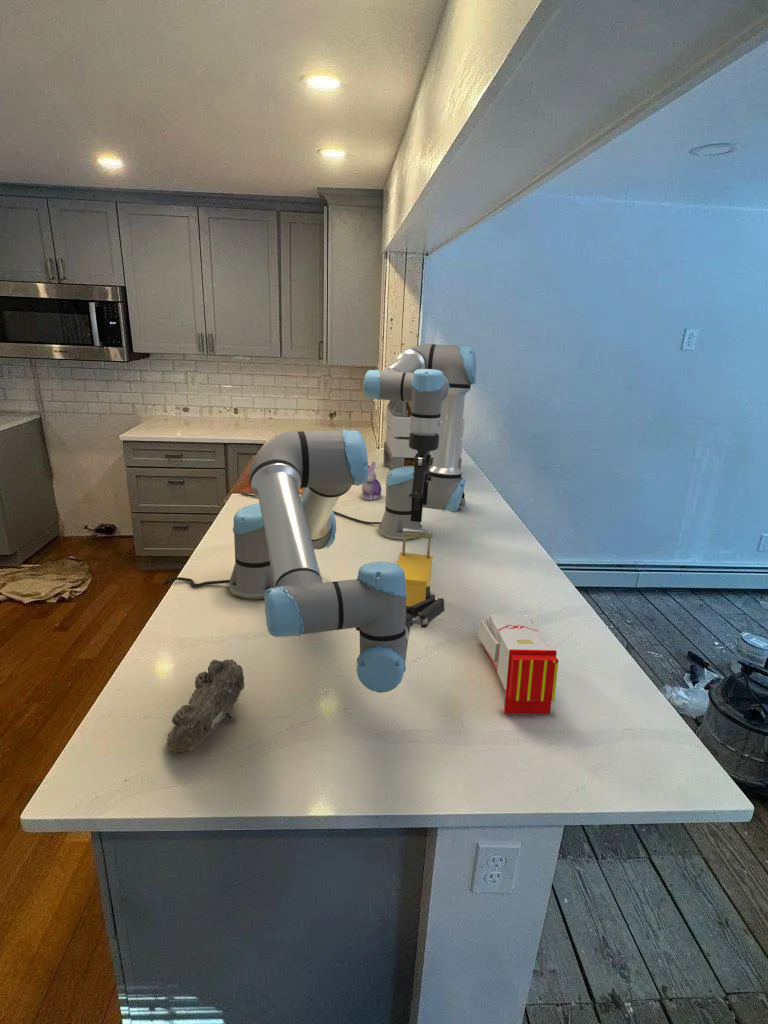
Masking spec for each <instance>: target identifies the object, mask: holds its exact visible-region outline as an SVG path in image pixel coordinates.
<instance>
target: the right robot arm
mask: <svg viewBox="0 0 768 1024" xmlns="http://www.w3.org/2000/svg"><path fill="white" fill-rule="evenodd" d="M476 383H477V358H476V351H475V349H474V348H473V347H471V346H467V345H461V344H459V345H456V344H438V343H437V344H436V343H435V344H434V343H423V344H418V345H415V346H412V347H409V348H407V349H405V350H403V351H402V352H400V353H399V354H398V356H397V357H396V359H395V361H394V362H392V363H391V364H389V365H388V366H387V367H385V368H384V369H383V370H379V369H369V370H367V371H366V373H365V375H364V378H363V392H364V396H365V397H366V398H368V399H373V400H377V401H379V400H384V401H390V400H395V401H407V402H411V415H410V428H409V430H410V431H411V433H410V434H409V447H410V448H411V449H414V450H417V451H418V453H417V454H416V456H415V457H414V463H415V464H414V466H404V467H401V468H396V469H393V470H391V471H390V470H389V472H388V473H387V475H386V482H385V504H384V505H385V507H384V508H385V509H384V513H383V515H382V519H381V522H380V521H365V520H361V519H358V518H355V517H352V516H349V515H345V514H344V513H341V512H338V511H335V510H333V512H334V515H339V516H340V517H343V518H346V519H349V520H351V521H354V522H358V523H362V524H367V525H378V533H379V534H380V535H381V536H382V537H385V538H387V539H389V540H395V541H403V535H402V533H403V528H411V529H420V530H423V525H422V524H421V523H422V521H423V519H422V518H423V509H430V510H431V509H432V510H440V511H443V512H445V511H447V512H455V511H457V510H459V509H458V507H459V505H460V502H461V498H462V495H463V491H464V490H465V485H466V478H465V477H463V476H462V475H463V472H462V469H461V470H460V469H459V468H458V461H459V451H460V441H461V440H462V438H461V431H462V421H463V419H464V408H465V400H466V395H467V393H469V392H470V391H471V386H472V385H476ZM430 451H434V453H433V464H432V465H430V461H431V455H430ZM240 495H244V496H248V497H253V498H256V497H255V496H254V494H253V493H245V492H240ZM415 539H418V537H409V536H406V541H410V540H415Z"/></svg>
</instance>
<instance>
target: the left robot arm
mask: <svg viewBox="0 0 768 1024" xmlns="http://www.w3.org/2000/svg"><path fill="white" fill-rule="evenodd" d="M368 459H369V458H368V451H367V445H366V440H365V438H364V436H363V434H362V433H361V432H360V431H359V430H354V429H353V430H351V429H346V428H344V429H337V430H301V431H300V430H299V431H298V430H290V431H285V432H281V433H279V434H276V435H275V436H273V437H272V438H270V439H268V441H266V442H264V444H263V445H262V446H261V447H260V449H258V451H257V453H256V455H255V456H254V458H253V460H252V463H251V466H250V470H249V483H250V489H251V493H252V495H254V496H255V497H254V498H256V499H258V503H253V504H250V505H246V506H244V507H242V508H240V509H239V510H237V511H236V512H235V513H234V515H233V527H232V532H233V539H234V566H233V570H232V572H231V575H230V579H222V580H221V579H220V580H209V581H203V582H199V583H195V581H194V579H192V578H188V577H181V576H176V577H171V578H169V579H167V580H166V581H164V582H163V585H165V586H166V585H168V584H170V583H172V582H174V581H175V582H176V581H184V582H189V583H190V584H191V586H192V587H195V588H198V587H199V588H200V587H204V586H208V585H220V584H222V585H223V584H229V592H230V593H231V594H232V595H233V596H235V597H236V598H240V599H244V600H248V601H249V600H250V601H251V600H252V601H255V600H256V601H258V600H264V613H265V622H266V628H267V632H268V633H269V634H270V635H271V637H274V638H283V637H284V638H285V637H286V638H287V637H301V636H304V635H310V634H319V633H323V632H324V633H325V632H331V631H339V630H347V629H355V631H356V632H357V631H358V632H359V655H358V657H357V659H356V675H357V678H358V679H359V682H360V684H362V686H363V687H364V688H366V689H368V690H369V691H371V692H374V693H380V694H381V693H388V692H391V691H393V690H395V689H396V688H397V687H398V686H399V685H400V684H401V682H402V680H403V678H404V674H405V673H406V669H407V667H406V661H407V651H408V645H409V639H410V631H411V627H413V625H419V626H420V628H421V629H426V628H428V626H429V624H430V623H431V622H432V621H433V620H435V619H436V618H437V617H438V616H439V615H441V614H442V613H444V612H445V599H444V598H443V597H439V598H437V599H436V594H432V593H431V586H429V587H426V600H424V601H422V602H420V603H417V604H415V605H413V606H406V596H407V592H406V580H405V572H404V570H403V569H402V568H401V567H400V566H399V565H397V564H396V563H393V562H390V561H372V562H371V561H370V563H365V564H362V565H361V566H360V567H359V568H358V572H357V578H356V579H354V578H353V579H345V580H336V581H325V582H323V581H322V576H321V575H322V574H321V571H320V567H319V564H318V560H317V556H316V551H315V550H323V549H328V548H330V547H331V546H332V545H333V544H334V542H335V539H336V534H337V521H336V520H337V519H336V514H335V513H334V512H333V511H334V509H335V506H336V505H337V502H338V500H339V498H340V497H341V496H344V495H345V494H346V493H348V492H349V490H350V489H351V488H352V486H357V487H359V486H362V485H363V484H365V483H366V481H367V478H368V465H369V460H368ZM301 489H302V491H301V493H300V492H299V491H300V490H301ZM177 579H178V580H177Z"/></svg>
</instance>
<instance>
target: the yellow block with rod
mask: <svg viewBox="0 0 768 1024" xmlns="http://www.w3.org/2000/svg"><path fill="white" fill-rule="evenodd" d="M402 535H403V540H402V546H401V547H402V549H401V550H402V551H400V552H399V555H398V558H397V561H396V563H395V564H397V565H399V566H400V567H401V568H402V569H403V570H404V572H405V580H406V583H409V584H418V585H426V586H427V583H428V578H429V574H430V569H431V565H432V566H433V559H434V555H432V554H431V545H432V538H433V530H428V529H422V530H420V529H411V528H403V533H402ZM406 536H409V537H418V538H419V539H427V549H426V550H427V552H426V554H421V553H412V552H406V545H407V540H406ZM418 538H417V539H418Z"/></svg>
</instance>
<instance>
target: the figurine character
mask: <svg viewBox="0 0 768 1024" xmlns="http://www.w3.org/2000/svg"><path fill="white" fill-rule="evenodd" d="M465 496H466V494H465V492H464V491H463V495H462V498H461V502H460V505H459V507H458V509H457V510H458V511H461V510H462V509H461V508H465V505H466V497H465Z"/></svg>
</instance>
